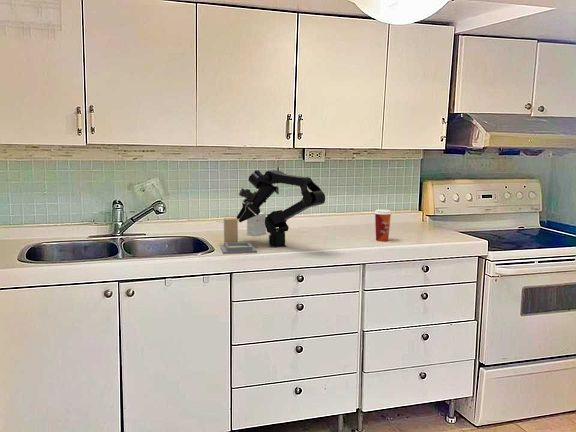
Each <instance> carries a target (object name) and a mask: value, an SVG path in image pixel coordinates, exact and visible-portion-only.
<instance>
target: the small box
mask: <svg viewBox="0 0 576 432" xmlns="http://www.w3.org/2000/svg"><path fill="white" fill-rule="evenodd" d="M255 215H256V214H255ZM266 217H267V213H266V212H262V211H260V213H259V214H258V215H256V216H254V217H252V218H249V219H247V220H246V235H247V236H251V237H258V236H262V235H266V234H267V230H266V226H265V218H266Z"/></svg>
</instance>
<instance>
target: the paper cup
mask: <svg viewBox="0 0 576 432" xmlns="http://www.w3.org/2000/svg"><path fill="white" fill-rule="evenodd" d="M391 215H392V210H390V209H382V208H381V209H375V212H374V217H375V219H374V220H375V221H374V222H375V241H377V242H388V241H389V235H390V225H391V224H390V223H391Z"/></svg>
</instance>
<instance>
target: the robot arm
mask: <svg viewBox="0 0 576 432" xmlns="http://www.w3.org/2000/svg"><path fill="white" fill-rule="evenodd" d="M247 181H248V182H249V183H250V184H251V185H252V186H253V187H254V188H255V189H257V190H256V191H253V192H252V191H251V189H249V188H246V189H245V188H243V187H241V189H240V191H239V193H238V196H239V197H242V198H244V199H243V200H242V203H241V204H242V207H241V209H240V210H239V212H238V213H237V216H235V217H236V218H237V219H238V222H239V223H242V222H244V221H247V219H249V218H252V217H254V216H256V215H258V214H259V213H260V212H261V208H260V207H261V206H263V205H264V203H265V204H266V203H267V200H268V199H269V198H271V196H272V195H273V194H274V193H275V194H277V195H279V194H280V193H279V186H275V184H283V185H291V186H296V187H297V186H298V187H299V188H300V191H301V196H302V198H301V200H299V201H297V202H296V203H294V204H292V205H291V206H289V207H288V208H286V209H284V210H282V209H280V210H273V211H271V212H270V213H269V214H267V213H266V218H265V226H266V233H269V235H268V245H269V246H270V247H271V248H280V247H281V248H282V247H287V245H286V232H289V227H290V226H289V225H288V224H287V221H288V220H289V219H291V218H293V217H296V216H297V215H299V214H301V213H302V212H304V211H305V210H308V209H310V208H313V207H317V206H321V205H324V204H325V203H326V195H325V193H324V192H323V190H322V189H321V188H320V187H319V186H318V184H316V183H315V182H314V181H313V179H312V178H311V177H310V176H301V175H300V176H299V175H293V174H288V173H287V174H286V173H284V171H281V170H266V171H265V173H264V174H263V173H262V172H261V171H260V170H259V169H257V170H254V171H253V172H252V173H251V174H249V177H248V179H247ZM273 184H274V185H273ZM255 214H256V215H255Z"/></svg>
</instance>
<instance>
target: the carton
mask: <svg viewBox="0 0 576 432" xmlns="http://www.w3.org/2000/svg"><path fill="white" fill-rule="evenodd" d="M236 217H237V216H235V217H234V216H232V217H231V216H230V217H223V246H225V243H234V242H239V234H238V233H239V232H238V231H239V226H238V225H239V223H238V222H239V219H237V218H236Z"/></svg>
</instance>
